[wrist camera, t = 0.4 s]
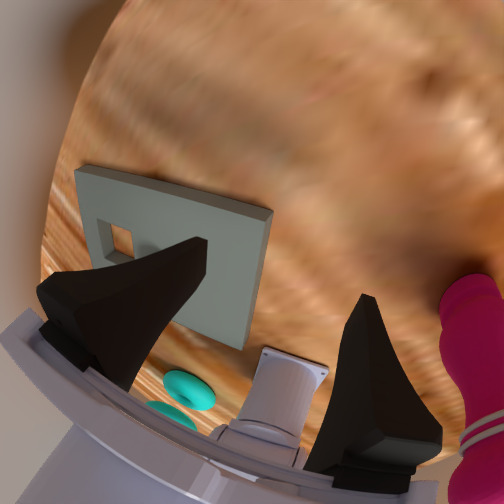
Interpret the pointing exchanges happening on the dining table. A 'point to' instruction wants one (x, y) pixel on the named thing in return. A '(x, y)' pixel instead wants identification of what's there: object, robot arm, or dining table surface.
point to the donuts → (184, 396)
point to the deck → (175, 231)
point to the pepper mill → (476, 385)
